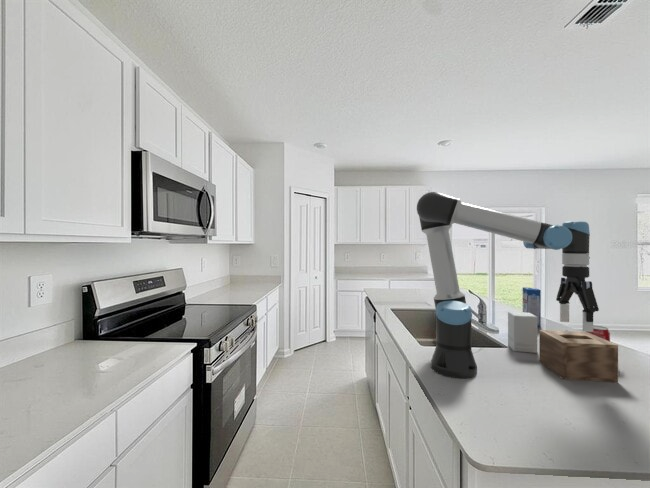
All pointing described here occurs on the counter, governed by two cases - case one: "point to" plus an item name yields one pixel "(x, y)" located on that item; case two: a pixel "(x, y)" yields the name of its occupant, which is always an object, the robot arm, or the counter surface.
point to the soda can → (601, 332)
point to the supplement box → (522, 332)
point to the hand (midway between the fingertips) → (575, 326)
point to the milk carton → (532, 302)
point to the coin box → (578, 355)
